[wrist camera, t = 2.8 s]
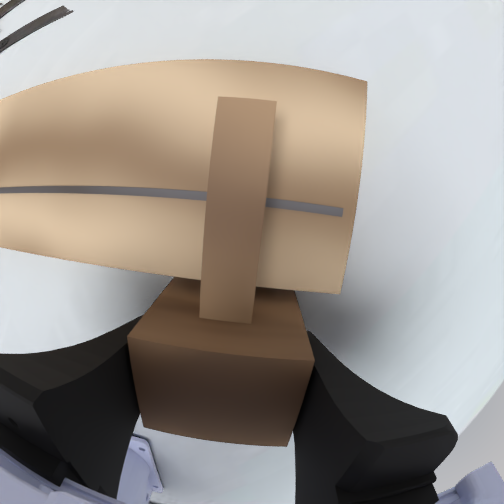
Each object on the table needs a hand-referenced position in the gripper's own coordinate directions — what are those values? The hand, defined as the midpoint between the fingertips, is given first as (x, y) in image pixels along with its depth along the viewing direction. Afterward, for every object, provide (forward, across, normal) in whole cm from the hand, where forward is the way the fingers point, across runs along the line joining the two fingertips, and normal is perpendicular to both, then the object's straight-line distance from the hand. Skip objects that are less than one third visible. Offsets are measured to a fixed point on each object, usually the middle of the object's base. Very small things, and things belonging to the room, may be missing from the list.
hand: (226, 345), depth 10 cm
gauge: (+2, 0, -3) cm, 4 cm away
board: (+2, +7, -6) cm, 10 cm away
